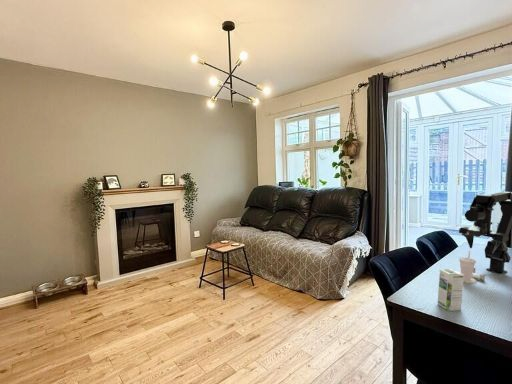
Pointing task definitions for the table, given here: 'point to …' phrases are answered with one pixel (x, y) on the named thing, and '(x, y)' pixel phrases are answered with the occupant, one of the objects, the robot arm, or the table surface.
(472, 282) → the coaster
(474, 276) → the steel rail
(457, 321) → the table surface
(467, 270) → the smoothie
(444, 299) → the syrup box
